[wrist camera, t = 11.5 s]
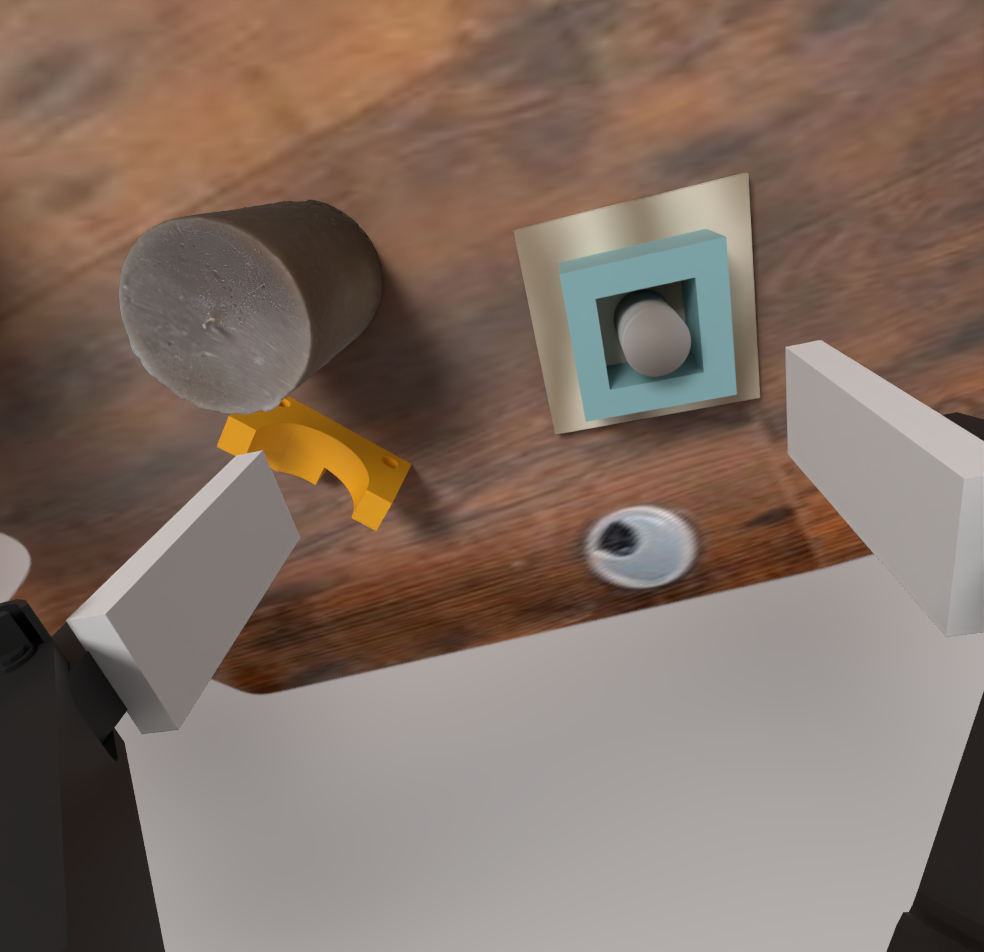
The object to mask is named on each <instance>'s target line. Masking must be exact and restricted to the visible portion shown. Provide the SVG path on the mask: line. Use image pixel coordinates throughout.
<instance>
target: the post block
mask: <svg viewBox="0 0 984 952" xmlns="http://www.w3.org/2000/svg"><path fill="white" fill-rule="evenodd" d="M703 229H708V230H711V231H713V232H716V233H718V234H721V235H723V236H726V240H727V255H728V270H729V285H730V300H731V315H732V330H733V345H734V359H735V374H736V389H737V395H732V396H726V397H721V398H715V399H710V400H704V401H699V402H693V403H688V404H682V405H676V406H671V407H665V408H660V409H654V410H649V411H643V412H638V413H632V414H626V415H621V416H615V417H610V418H604V419H599V420H593V421H588V422H586V420H585V415H584V409H583V403H582V398H581V392H580V387H579V381H578V376H577V370H576V364H575V359H574V353H573V348H572V342H571V336H570V331H569V325H568V320H567V314H566V309H565V303H564V297H563V292H562V286H561V281H560V275H559V262H563V261H568V260H572V259H576V258H581V257H585V256H590V255H594V254H598V253H603V252H607V251H611V250H616V249H620V248H624V247H629V246H633V245H637V244H642V243H646V242H650V241H655V240H659V239H663V238H668V237H672V236H677V235H681V234H685V233H690V232H694V231H698V230H703ZM513 231H514V236H515V241H516V246H517V250H518V255H519V260H520V265H521V270H522V275H523V280H524V285H525V289H526V294H527V299H528V304H529V309H530V314H531V319H532V323H533V328H534V333H535V338H536V343H537V348H538V353H539V358H540V362H541V367H542V372H543V377H544V382H545V387H546V392H547V396H548V401H549V406H550V411H551V416H552V421H553V426H554V431H555V435H556V434H561V433H567V432H573V431H578V430H584V429H589V428H595V427H600V426H606V425H612V424H617V423H623V422H628V421H634V420H639V419H645V418H651V417H656V416H662V415H667V414H673V413H678V412H684V411H690V410H695V409H701V408H706V407H712V406H717V405H723V404H728V403H734V402H740V401H745V400H751V399H756V398H760V387H759V368H758V349H757V330H756V311H755V292H754V273H753V254H752V235H751V216H750V197H749V178H748V173H741V174H737V175H733V176H729V177H725V178H721V179H717V180H713V181H709V182H705V183H701V184H697V185H692V186H688V187H684V188H680V189H676V190H672V191H668V192H664V193H660V194H656V195H652V196H648V197H644V198H640V199H635V200H631V201H627V202H623V203H619V204H615V205H611V206H607V207H603V208H599V209H595V210H591V211H587V212H582V213H578V214H574V215H570V216H566V217H562V218H558V219H554V220H550V221H546V222H542V223H538V224H534V225H529V226H525V227H521V228H517V229H514V230H513ZM596 305H597V311H598V318H599V324H600V330H601V337H602V343H603V349H604V356H605V362H606V366H609V365H614V364H619V363H624V362H628V363H629V365H630V366H631V367H632V368H633V369H634V370H635V371H637V372H638V373H640V374H642V375H645V376H651V377H658V376H663V375H667V374H669V373H671V372H673V371H675V370H676V369H677V368H678V367H680V366H681V365H682V363H683V362H684V361H685V359H686V358H687V356H688V354H689V351H690V347H691V336H690V332H689V329H688V327H687V325H686V324H685V315H684V305H683V295H682V285H681V281H676V282H672V283H667V284H662V285H658V286H653V287H649V288H644V289H639V290H635V291H630V292H625V293H621V294H616V295H612V296H607V297H602V298H598V299H596Z"/></svg>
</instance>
